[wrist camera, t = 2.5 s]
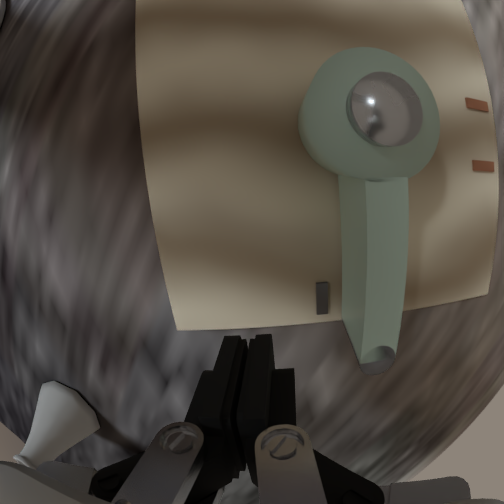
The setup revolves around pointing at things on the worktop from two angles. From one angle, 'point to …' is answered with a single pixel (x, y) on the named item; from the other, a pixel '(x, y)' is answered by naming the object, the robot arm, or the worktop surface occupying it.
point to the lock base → (299, 155)
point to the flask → (56, 424)
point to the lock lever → (371, 182)
